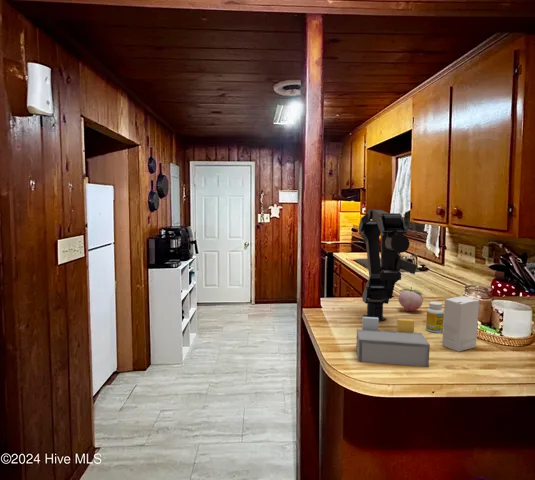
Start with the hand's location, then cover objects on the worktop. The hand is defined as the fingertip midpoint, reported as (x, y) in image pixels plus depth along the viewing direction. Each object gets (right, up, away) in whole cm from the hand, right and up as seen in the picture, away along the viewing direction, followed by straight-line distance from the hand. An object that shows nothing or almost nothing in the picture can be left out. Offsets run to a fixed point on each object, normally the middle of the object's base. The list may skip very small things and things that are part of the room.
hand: (389, 298), depth 127 cm
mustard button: (-1, -12, -18) cm, 22 cm away
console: (-6, -14, -20) cm, 25 cm away
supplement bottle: (+16, -12, +4) cm, 21 cm away
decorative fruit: (+17, -10, +27) cm, 34 cm away
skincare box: (+17, -13, -11) cm, 24 cm away
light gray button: (-11, -12, -17) cm, 23 cm away
